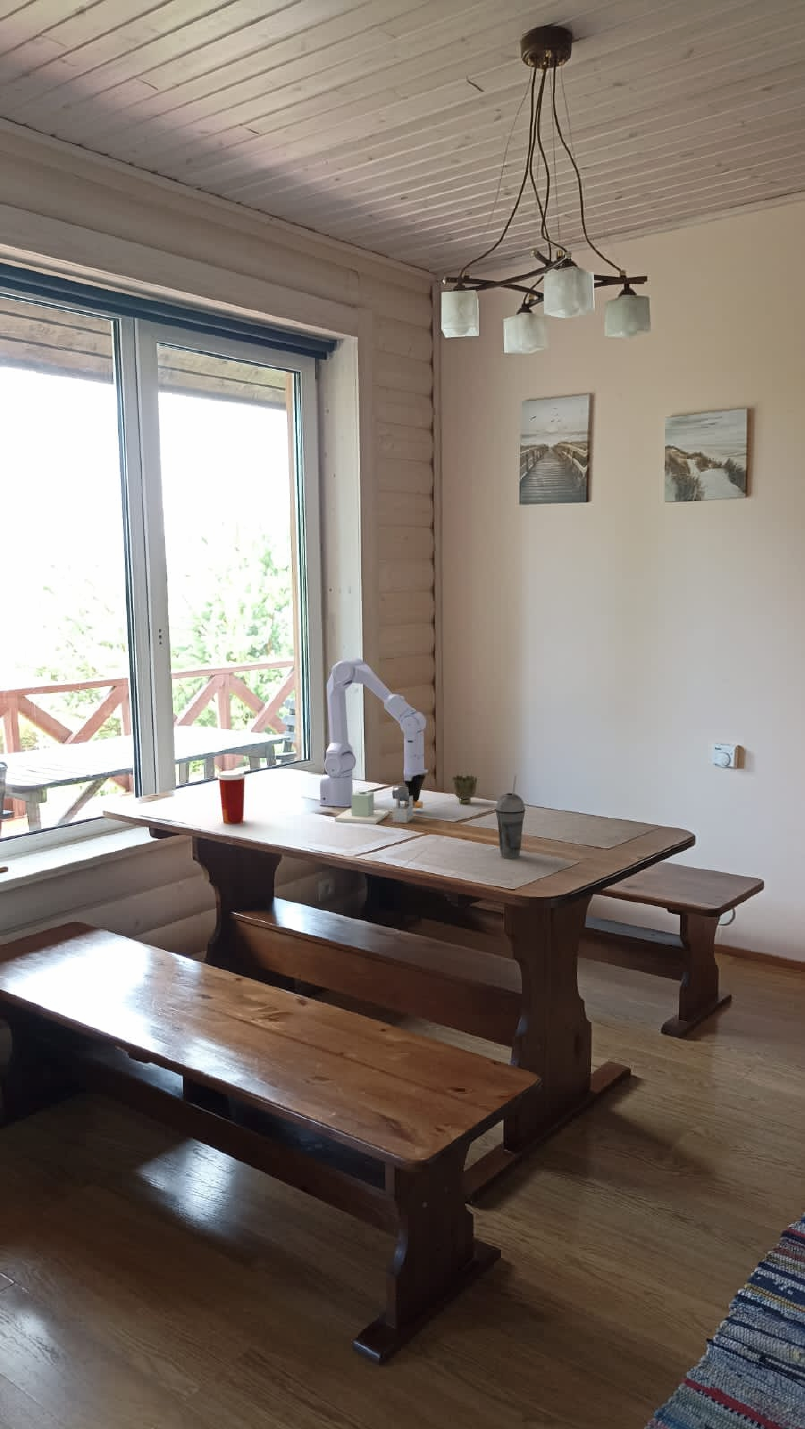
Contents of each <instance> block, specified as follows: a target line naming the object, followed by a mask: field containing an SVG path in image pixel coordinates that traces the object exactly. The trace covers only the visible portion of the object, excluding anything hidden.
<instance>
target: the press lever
mask: <svg viewBox="0 0 805 1429" xmlns="http://www.w3.org/2000/svg"><path fill="white" fill-rule="evenodd" d="M391 791H392V795H391V796H392V799H394V800H396V799H400V802H404V804H409V793H408V787H407V786H406V785H404V786H401V785H394V786H393V787H392V790H391ZM423 806H424V802H423V801H422V800H421V801H420V800H418V801H413V805H412V809H423Z"/></svg>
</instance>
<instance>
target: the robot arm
mask: <svg viewBox="0 0 805 1429" xmlns="http://www.w3.org/2000/svg"><path fill="white" fill-rule="evenodd" d="M352 684H360V685H365V686H366V688H368V689H369V690H370V692H372V693H373V694H375V695H376V697H378V698H379V699H380V700H381V701H382V702H383V704H384V705H383V706H384V707H383V708H384V709H385V710H386V711H387V712H388V713H389V714H390V715H391V716H392V717H393V718H394V720H396V722H398V724H400V729H401V731H402V733H403V751H404V752H403V753H404V754H403V758H404V759H403V760H404V761H403V764H404V766H403V768H404V769H403V777H402V780H403V782H404V784H405V787H408V794H409V796H411V795H413V801H420V796H421V792H422V786H423V783H424V781H425V779H426V775H424V774H427V773H428V772H429V770H428V769H425V749H424V748H425V747H424V746H425V738H424V737H425V736H424V732H425V731H424V730H425V729H426V727H427V723H428V722H427V719H426V717H425V715H424V714H423V712H420V711H417V710H416V709H415V708H414V707H413V708H412V706H411V705H410V704H409V703H408V702H407V701H406V700H405V697H404V696H403V695H400V694H397V693H396V694H393V693H392V692H391V691H390V690H389V688H388V687H387V686H386V685H385V684H384V683H383V681H381V679H380V678H379V677H377V675H376V674H375V673H374V672H373V670H372V669H371V667H370V666H369V665H368V664H366V663H365V661H364V660H363V659H361V658H358V657H354V658H351V659H345V660H344V659H342V660H339V661H337V663H336V664H334V665H333V666H332V667H331V674H330V676H329V678H328V681H327V683H326V697H327V700H326V701H327V712H328V714H327V715H328V725H329V726H328V728H329V729H328V730H329V745H328V747H327V749H326V751H325V753H326V754H325V755H326V756H325V760H324V763H323V766H324V770H325V772H326V773H327V774H323V775H322V776H321V778H320V782H319V794H320V795H319V798H320V800H319V801H320V803H319V806H326V807H327V806H328V807H340V808H342V807H343V808H349V807H350V808H351V795H352V794H354V792H353V790H354V788H353V770H354V768H355V767H356V764H357V760H356V757H355V754H354V752H353V746H352V745H351V744H350V743H349V733H348V731H349V730H348V716H347V702H346V690H347V689H348V688H349V687H350V686H351V685H352Z"/></svg>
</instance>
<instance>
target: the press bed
mask: <svg viewBox="0 0 805 1429" xmlns="http://www.w3.org/2000/svg"><path fill="white" fill-rule="evenodd" d="M389 814H390V811H389V810H384V809H383V810H380V809H374V813H373V814H372V815H370V816H369V817H363V816H352V808H351V807H350V808H349V807H348V809H346V810H345V811H343V812H342V813H341V814H339V815H337V816H336V817H334V822H339V823H340V822H341V823H354V824H355V823H356V824H368V825H369V824H370V825H372V824H373V825H376V824H377V823H379V822H381V821H382V820H383V819H384V818H386V817H387V816H388V815H389Z"/></svg>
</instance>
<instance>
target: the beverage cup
mask: <svg viewBox="0 0 805 1429" xmlns="http://www.w3.org/2000/svg"><path fill="white" fill-rule="evenodd" d="M513 776H514V777H513V782H512V783H513V784H512V792H509V793H507V792H506V793H505V794H503V795H501V796H500V797H499V798H498V799H497V801H496V805H495V809H494V810H495V815H496V819H497V828H498V840H499V851H500V857H501V858H502V859H506V860H514V859H515V860H516V859H519V858H520V853H521V850H522V849H521V847H522V837H523V826H524V825H523V824H524V818H525V814H526V813H525V812H526V808H525V804H524V801H523V799H522V798H521V797H520V796H519V795H518V794H516V793H515V791H516V783H517V782H516V780H517V775H513Z"/></svg>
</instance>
